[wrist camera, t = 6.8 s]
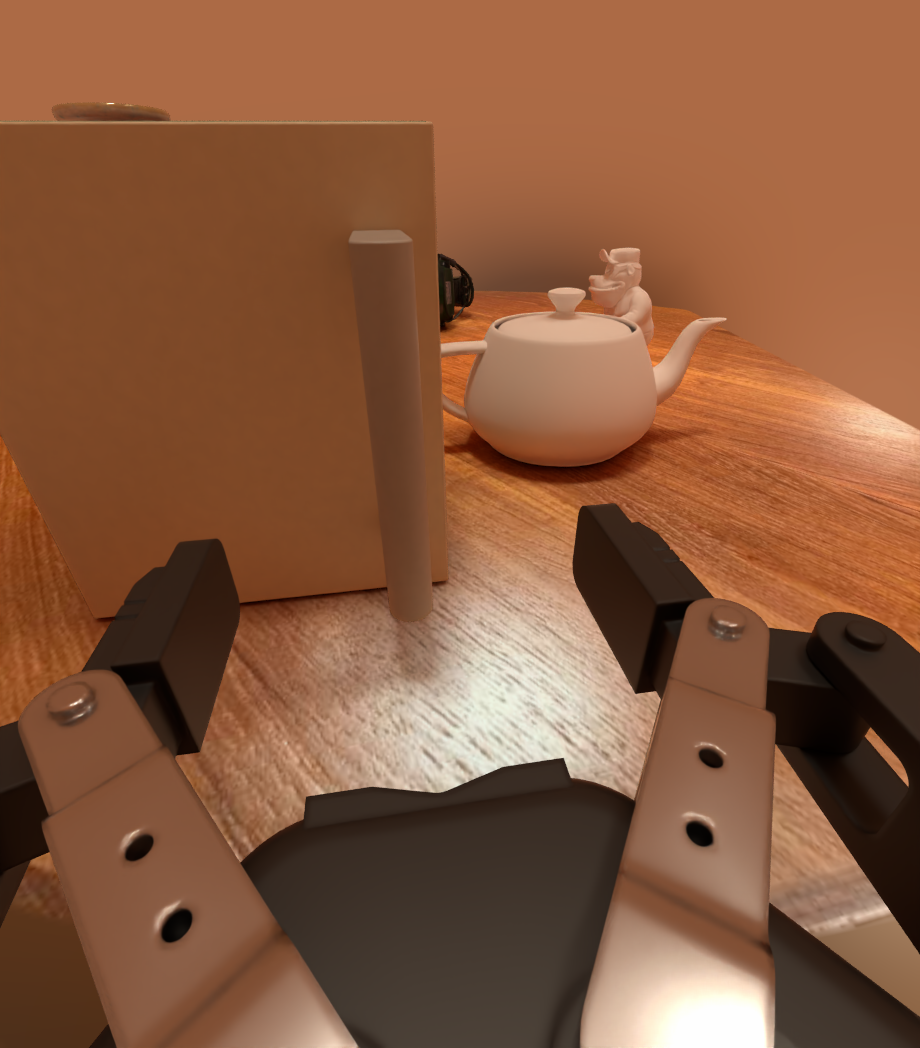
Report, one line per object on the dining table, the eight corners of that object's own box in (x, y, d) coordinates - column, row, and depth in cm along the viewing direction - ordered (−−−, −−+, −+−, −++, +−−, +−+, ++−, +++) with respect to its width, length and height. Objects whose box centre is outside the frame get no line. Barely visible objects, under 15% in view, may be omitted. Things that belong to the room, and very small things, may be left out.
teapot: (427, 495, 33) (417, 313, 27) (414, 419, 45) (405, 280, 39) (751, 469, 35) (804, 297, 30) (659, 403, 47) (684, 271, 41)
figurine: (564, 372, 56) (576, 245, 49) (624, 370, 56) (643, 243, 50) (590, 400, 48) (607, 253, 42) (659, 397, 48) (687, 251, 42)
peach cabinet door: (468, 671, 20) (463, 85, 11) (21, 730, 18) (-443, 77, 9) (445, 568, 26) (429, 125, 17) (102, 605, 24) (-132, 125, 15)
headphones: (502, 285, 72) (467, 290, 90) (429, 207, 66) (408, 229, 84) (440, 362, 74) (418, 351, 92) (364, 293, 68) (357, 296, 86)
